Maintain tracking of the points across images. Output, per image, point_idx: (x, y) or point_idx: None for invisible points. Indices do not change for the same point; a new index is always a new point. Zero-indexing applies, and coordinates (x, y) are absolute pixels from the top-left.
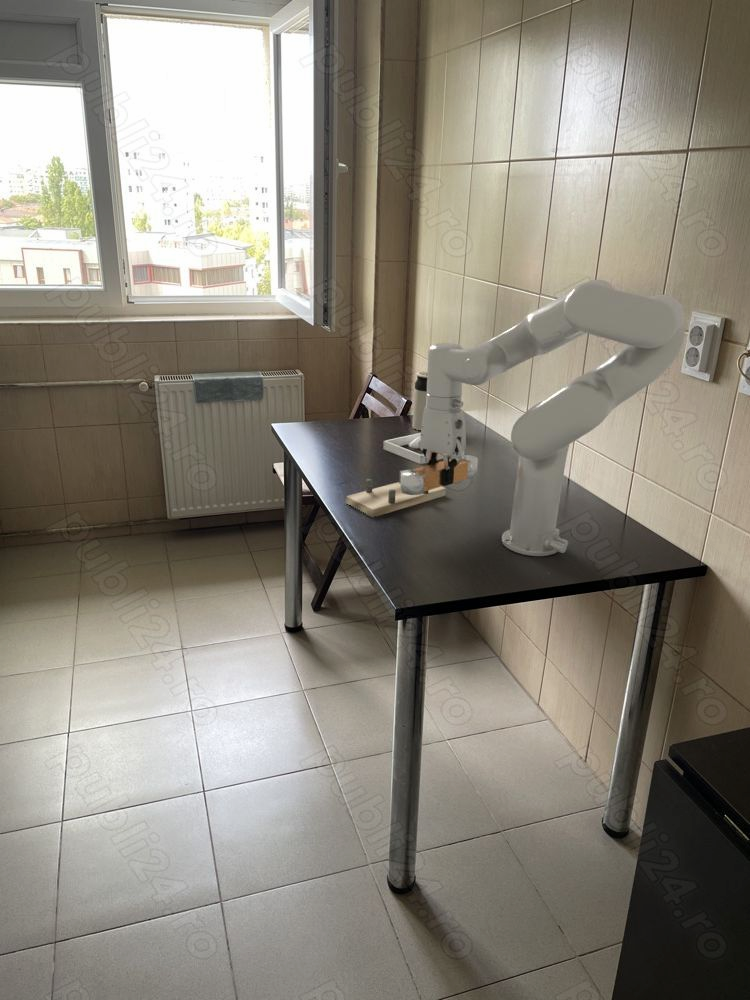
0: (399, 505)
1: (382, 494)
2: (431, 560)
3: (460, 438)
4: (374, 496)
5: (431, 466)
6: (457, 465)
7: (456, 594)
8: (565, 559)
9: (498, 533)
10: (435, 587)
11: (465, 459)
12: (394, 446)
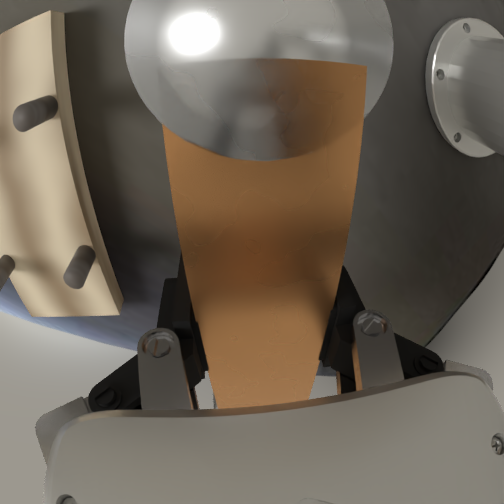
0: (91, 224)
1: (28, 243)
2: (368, 305)
3: (480, 501)
4: (38, 268)
5: (241, 378)
6: (342, 252)
7: (438, 321)
8: None
9: (404, 83)
10: (411, 334)
11: (484, 373)
12: None
